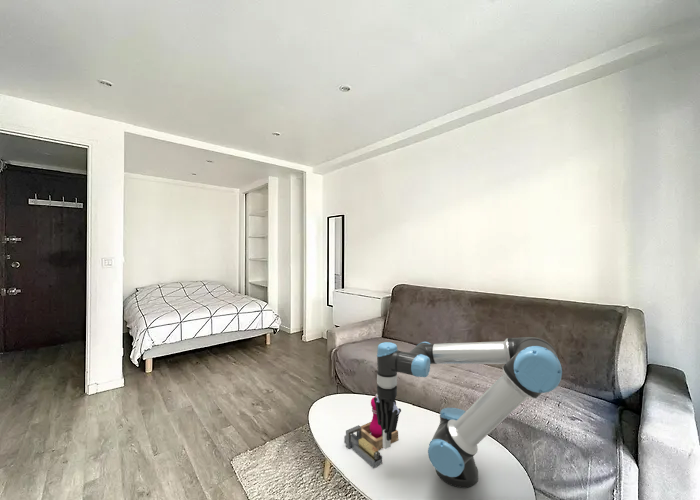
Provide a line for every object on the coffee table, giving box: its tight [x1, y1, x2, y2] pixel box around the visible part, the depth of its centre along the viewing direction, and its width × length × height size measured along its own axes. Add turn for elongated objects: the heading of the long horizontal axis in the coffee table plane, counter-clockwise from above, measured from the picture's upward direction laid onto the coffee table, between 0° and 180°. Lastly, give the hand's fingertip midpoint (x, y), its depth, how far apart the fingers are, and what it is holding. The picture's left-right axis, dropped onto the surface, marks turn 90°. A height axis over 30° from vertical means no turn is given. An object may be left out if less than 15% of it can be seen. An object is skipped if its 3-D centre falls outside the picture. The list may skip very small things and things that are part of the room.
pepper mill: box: [370, 393, 382, 439], centre depth 138 cm, size 7×7×20 cm
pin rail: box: [343, 424, 383, 469], centre depth 128 cm, size 20×7×7 cm, turn 36°
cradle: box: [360, 421, 399, 450], centre depth 138 cm, size 13×13×4 cm
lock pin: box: [359, 438, 381, 460], centre depth 124 cm, size 11×3×3 cm, turn 36°
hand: (386, 446), depth 116 cm, fingers closed
